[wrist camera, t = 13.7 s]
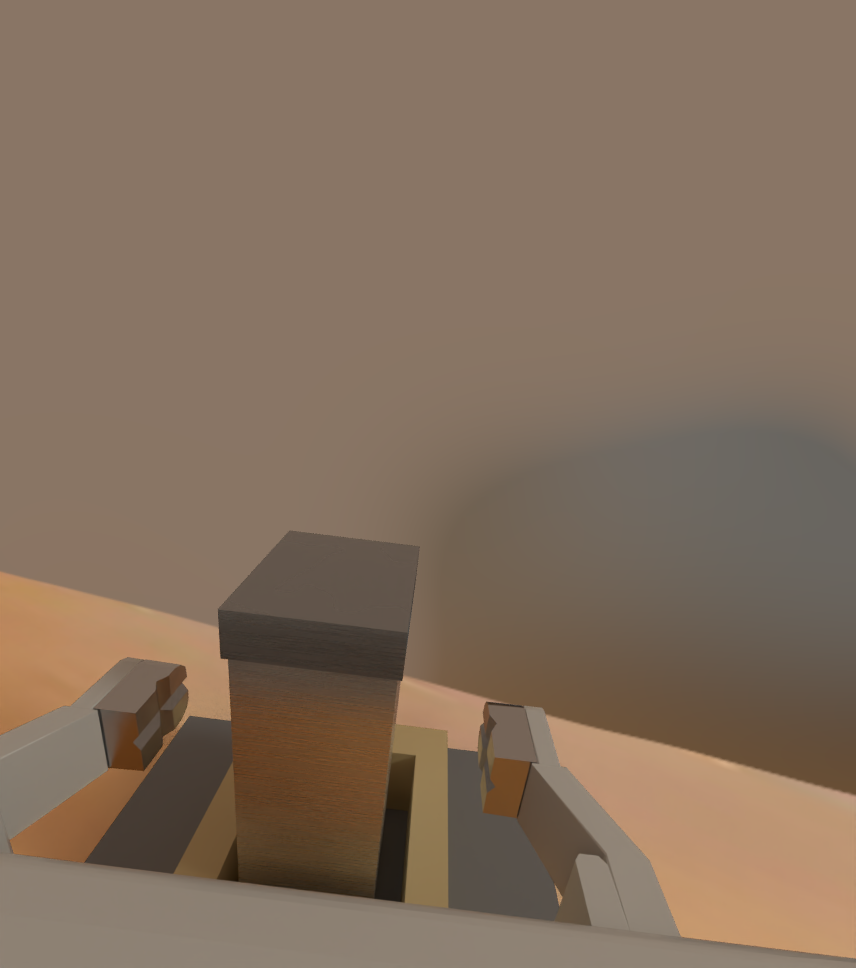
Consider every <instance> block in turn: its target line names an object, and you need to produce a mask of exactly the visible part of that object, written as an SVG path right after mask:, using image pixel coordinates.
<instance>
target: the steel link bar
mask: <svg viewBox="0 0 856 968" xmlns="http://www.w3.org/2000/svg"><path fill="white" fill-rule="evenodd" d="M419 548H420V547H419V546H412V545H403V544H395V543H387V542H379V541H370V540H362V539H353V538H346V537H338V536H330V535H321V534H312V533H305V532H296V531H289V532H288V533H287V534H286V535H285V536H284V537H283V538H282V540H281V541H280V542H279V543H278V544H277V545H276V546H275V547H274V548H273V549H272V550H271V552H270V553H269V554H268V555H267V556H266V557H265V558H264V559H263V560H262V562H261V563H260V564H259V565H258V566H257V567H256V568H255V569H254V570H253V571H252V572H251V574H250V575H249V576H248V577H247V578H246V579H245V580H244V581H243V582H242V583H241V585H240V586H239V587H238V588H237V589H236V590H235V591H234V592H233V594H231V596H230V597H229V598H228V599H227V600H226V601H225V602H224V603H223V604H222V605H221V606H220V608H219V609H218V619H219V638H220V656H221V659H228V667H229V688H230V709H231V729H232V750H233V771H234V791H235V812H236V833H237V853H238V874H239V882H243V883H251V884H259V885H267V886H275V887H283V888H291V889H299V890H307V891H315V892H323V893H331V894H340V895H348V896H356V897H364V898H372V899H374V898H375V891H376V883H377V876H378V868H379V860H380V853H381V845H382V838H383V830H384V821H385V812H386V804H387V795H388V786H389V778H390V769H391V760H392V752H393V743H394V734H395V726H396V717H397V708H398V700H399V691H400V682H401V681H402V679H403V670H404V664H405V656H406V649H407V642H408V634H409V627H410V619H411V612H412V604H413V597H414V590H415V581H416V574H417V565H418V557H419Z"/></svg>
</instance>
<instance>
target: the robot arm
mask: <svg viewBox="0 0 856 968" xmlns="http://www.w3.org/2000/svg"><path fill="white" fill-rule="evenodd" d="M186 677H187V674H186V668H185V666H182V665H178V664H172V663H165V662H158V661H152V660H142V659H136V658H129V657H127V658H125V659H122V660H120V661H119V662H118V663H117V664H116V665H115V666H114V667H113V668H111V669H110V670H109V671H108V672H107V673H106V674H105V675H104V676H103V677H102V678H101V679H99V680H98V681H97V682H96V683H95V684H94V685H93V686H92V687H91V688H90V689H89V690H87V691H86V692H85V693H84V694H83V695H82V696H81V697H80V698H79V699H78V700H77V701H75V702H74V703H73V704H72V705H71V706H63V707H60V708H58V709H56V710H54V711H52V712H50V713H47V714H45V715H43V716H41V717H39V718H37V719H34V720H32V721H30V722H28V723H26V724H24V725H21V726H19V727H17V728H15V729H13V730H11V731H8V732H6V733H4V734H2V735H0V968H856V959H854V958H846V957H838V956H830V955H822V954H814V953H806V952H798V951H790V950H782V949H774V948H766V947H758V946H750V945H742V944H733V943H725V942H717V941H709V940H701V939H693V938H685V937H681V936H680V934H679V931H678V929H677V926H676V924H675V921H674V919H673V916H672V914H671V912H670V909H669V907H668V904H667V902H666V899H665V897H664V894H663V892H662V890H661V887H660V885H659V882H658V880H657V877H656V875H655V872H654V870H653V868H652V865H651V863H650V861H649V859H648V858H647V857H646V856H645V855H644V854H643V853H642V852H641V850H640V849H639V848H638V847H637V846H636V845H635V844H634V843H633V842H632V840H631V839H630V838H629V837H628V836H627V835H626V834H625V833H624V831H623V830H622V829H621V828H620V827H619V826H618V825H617V824H616V823H615V821H614V820H613V819H612V818H611V817H610V816H609V815H608V814H607V812H606V811H605V810H604V809H603V808H602V807H601V806H600V805H599V804H598V802H597V801H596V800H595V799H594V798H593V797H592V796H591V795H590V793H589V792H588V791H587V790H586V789H585V788H584V787H583V786H582V785H581V783H580V782H579V781H578V780H577V779H576V778H575V777H574V776H573V774H572V773H571V772H570V771H569V770H568V769H567V768H566V767H560V764H559V760H558V757H557V753H556V750H555V746H554V743H553V740H552V736H551V733H550V729H549V726H548V722H547V719H546V715H545V712H544V710H543V709H542V708H539V707H530V706H520V705H512V704H503V703H494V702H486V703H485V705H484V710H483V718H484V723H483V724H482V725H481V726H480V731H479V739H478V763H479V768H480V769H481V770H482V772H483V773H482V778H481V783H480V787H481V798H482V809H483V813H487V814H493V815H500V816H506V817H513V818H518V819H517V821H518V822H519V824H520V826H521V828H522V829H523V831H524V833H525V834H526V836H527V838H528V839H529V841H530V843H531V844H532V846H533V848H534V850H535V851H536V853H537V855H538V856H539V858H540V860H541V861H542V863H543V865H544V866H545V868H546V870H547V872H548V873H549V875H550V877H551V878H552V880H553V882H554V883H555V885H556V887H557V888H558V890H559V892H560V894H561V895H562V897H563V898H562V901H561V904H560V907H559V910H558V913H557V916H556V919H555V921H549V920H541V919H533V918H525V917H517V916H509V915H500V914H492V913H484V912H476V911H468V910H460V909H452V908H444V907H436V906H428V905H420V904H412V903H404V902H396V901H388V900H380V899H372V898H364V897H356V896H348V895H340V894H331V893H323V892H315V891H307V890H299V889H291V888H283V887H275V886H267V885H259V884H251V883H243V882H235V881H227V880H219V879H211V878H202V877H194V876H186V875H178V874H170V873H162V872H154V871H146V870H138V869H130V868H122V867H114V866H106V865H98V864H90V863H82V862H74V861H66V860H58V859H50V858H42V857H34V856H26V855H18V854H14V853H13V850H12V847H11V843H10V839H12V838H13V837H15V836H16V835H18V834H19V833H20V832H22V831H23V830H25V829H26V828H27V827H29V826H30V825H32V824H33V823H34V822H36V821H37V820H39V819H40V818H41V817H43V816H44V815H46V814H47V813H48V812H50V811H51V810H53V809H54V808H56V807H57V806H58V805H60V804H61V803H63V802H64V801H65V800H67V799H68V798H70V797H71V796H72V795H74V794H75V793H77V792H78V791H79V790H81V789H82V788H84V787H85V786H86V785H88V784H89V783H91V782H92V781H94V780H95V779H96V778H98V777H99V776H101V775H102V774H103V773H105V772H106V771H108V768H115V769H127V770H138V771H144V770H145V769H146V767H147V766H148V765H149V763H150V762H151V761H152V759H153V758H154V757H155V755H156V754H157V752H158V751H159V750H160V748H161V747H162V746H163V736H164V735H166V734H168V733H169V732H171V731H173V730H174V729H175V728H176V726H177V725H178V724H179V722H180V721H181V719H182V717H183V715H184V713H185V710H186V708H187V704H188V698H189V697H188V689H187V688H186V687H185V686H184V685H183V683H182V682H183V681H184V680H185V678H186Z"/></svg>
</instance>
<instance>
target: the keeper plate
mask: <svg viewBox="0 0 856 968" xmlns="http://www.w3.org/2000/svg"><path fill="white" fill-rule="evenodd" d="M482 773H483V772H482V770H481V769H480V768H479V763H478V752H474V751H466V750H458V749H450V748H447V731H445V730H437V729H429V728H421V727H413V726H405V725H397V724H396V726H395V734H394V743H393V752H392V760H391V769H390V778H389V786H388V795H387V804H386V812H385V821H384V830H383V838H382V845H381V853H380V860H379V868H378V876H377V883H376V891H375V898H374V899H380V900H388V901H396V902H404V903H412V904H420V905H428V906H436V907H444V908H452V909H460V910H468V911H476V912H484V913H492V914H500V915H509V916H517V917H525V918H533V919H541V920H549V921H555V919H556V916H557V913H558V910H559V904H558V899H557V894H556V889H555V884H554V882H553V880H552V878H551V877H550V875H549V873H548V872H547V870H546V868H545V866H544V865H543V863H542V861H541V860H540V858H539V856H538V855H537V853H536V851H535V850H534V848H533V846H532V844H531V843H530V841H529V839H528V838H527V836H526V834H525V833H524V831H523V829H522V828H521V826H520V824H519V822H518V821H517V819H518V818H513V817H506V816H500V815H493V814H487V813H483V809H482V798H481V787H480V783H481V778H482ZM84 863H90V864H98V865H106V866H114V867H122V868H130V869H138V870H146V871H154V872H162V873H170V874H178V875H186V876H194V877H202V878H211V879H219V880H227V881H235V882H239V874H238V853H237V833H236V812H235V791H234V771H233V750H232V729H231V721H227V720H219V719H211V718H203V717H195V716H189V718H188V719H187V720H186V722H185V723H184V725H183V726H182V727H181V729H180V730H179V732H178V733H177V734H176V736H175V737H174V739H173V740H172V741H171V743H170V744H169V746H168V747H167V748H166V750H165V751H164V752H163V754H162V755H161V757H160V758H159V759H158V761H157V762H156V764H155V765H154V766H153V768H152V769H151V771H150V772H149V773H148V775H147V776H146V778H145V779H144V780H143V782H142V783H141V784H140V786H139V787H138V789H137V790H136V791H135V793H134V794H133V796H132V797H131V798H130V800H129V801H128V803H127V804H126V805H125V807H124V808H123V810H122V811H121V812H120V814H119V815H118V817H117V818H116V819H115V821H114V822H113V823H112V825H111V826H110V828H109V829H108V830H107V832H106V833H105V835H104V836H103V837H102V839H101V840H100V842H99V843H98V844H97V846H96V847H95V849H94V850H93V851H92V853H91V854H90V856H89V857H88V858H87V860H86V861H85V862H84Z"/></svg>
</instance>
